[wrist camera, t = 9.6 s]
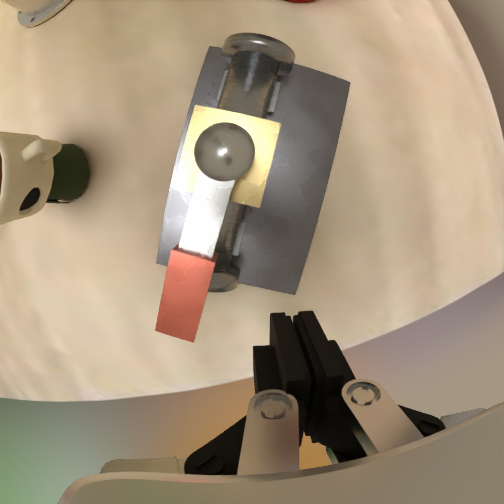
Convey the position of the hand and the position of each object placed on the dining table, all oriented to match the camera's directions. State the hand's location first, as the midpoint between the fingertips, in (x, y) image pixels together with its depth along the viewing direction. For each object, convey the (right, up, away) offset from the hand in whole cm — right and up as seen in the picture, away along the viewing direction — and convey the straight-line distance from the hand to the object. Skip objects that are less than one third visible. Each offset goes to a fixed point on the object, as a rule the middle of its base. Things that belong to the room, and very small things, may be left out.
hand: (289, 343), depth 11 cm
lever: (-5, +5, +8) cm, 11 cm away
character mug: (-21, +12, +14) cm, 28 cm away
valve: (-1, +11, +14) cm, 18 cm away
